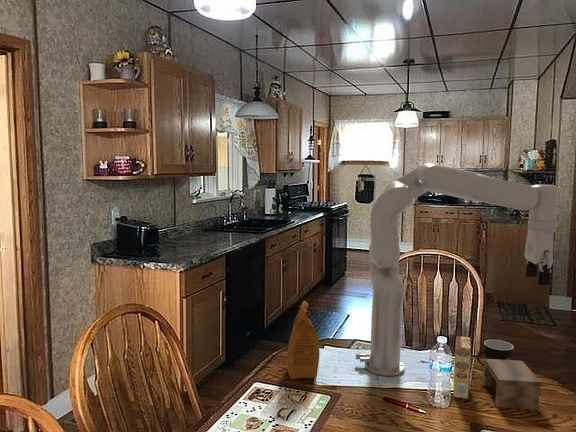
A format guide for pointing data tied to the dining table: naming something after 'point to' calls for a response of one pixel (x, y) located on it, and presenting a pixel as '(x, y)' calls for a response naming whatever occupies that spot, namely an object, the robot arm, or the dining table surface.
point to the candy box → (462, 367)
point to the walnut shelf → (512, 383)
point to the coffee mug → (496, 350)
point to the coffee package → (303, 347)
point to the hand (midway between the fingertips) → (537, 280)
